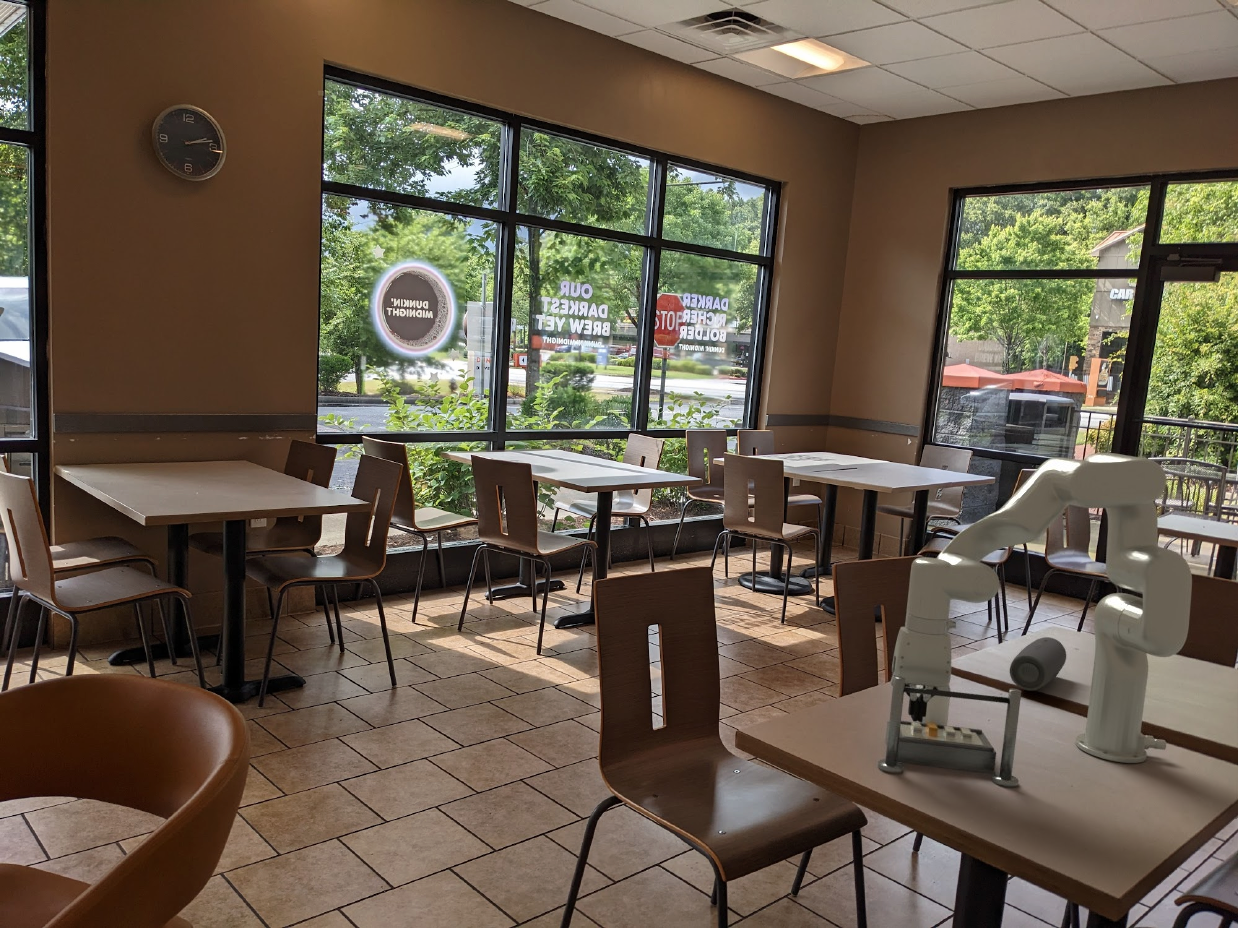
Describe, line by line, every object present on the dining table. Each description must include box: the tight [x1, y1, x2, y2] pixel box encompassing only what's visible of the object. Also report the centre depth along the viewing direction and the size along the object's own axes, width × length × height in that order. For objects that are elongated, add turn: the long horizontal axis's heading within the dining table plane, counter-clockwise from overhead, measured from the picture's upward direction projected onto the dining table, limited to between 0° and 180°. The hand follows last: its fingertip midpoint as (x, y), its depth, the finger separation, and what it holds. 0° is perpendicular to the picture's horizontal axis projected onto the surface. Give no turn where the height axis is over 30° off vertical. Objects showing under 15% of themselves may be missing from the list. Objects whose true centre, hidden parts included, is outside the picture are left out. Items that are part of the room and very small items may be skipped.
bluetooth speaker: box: [1009, 636, 1067, 692], centre depth 230 cm, size 23×9×10 cm, turn 144°
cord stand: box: [877, 676, 1022, 789], centre depth 171 cm, size 24×4×17 cm, turn 82°
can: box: [912, 685, 952, 726], centre depth 189 cm, size 6×6×12 cm
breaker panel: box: [884, 720, 997, 774], centre depth 180 cm, size 18×10×6 cm, turn 82°
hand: (916, 719), depth 179 cm, fingers closed
